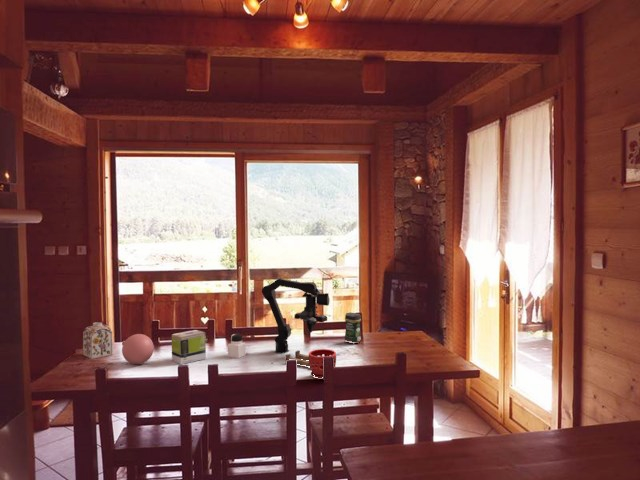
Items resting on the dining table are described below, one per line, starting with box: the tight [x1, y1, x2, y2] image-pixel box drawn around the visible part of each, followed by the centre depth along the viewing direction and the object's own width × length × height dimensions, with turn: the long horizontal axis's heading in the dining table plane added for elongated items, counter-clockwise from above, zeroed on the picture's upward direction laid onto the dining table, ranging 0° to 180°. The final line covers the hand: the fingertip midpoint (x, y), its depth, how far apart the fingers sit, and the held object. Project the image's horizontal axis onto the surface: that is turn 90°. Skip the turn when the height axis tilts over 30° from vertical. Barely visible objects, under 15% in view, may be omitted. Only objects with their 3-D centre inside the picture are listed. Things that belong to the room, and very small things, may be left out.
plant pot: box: [308, 348, 337, 378], centre depth 229 cm, size 13×13×12 cm
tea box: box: [171, 329, 207, 365], centre depth 257 cm, size 15×10×15 cm, turn 134°
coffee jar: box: [344, 312, 362, 342], centre depth 296 cm, size 10×8×19 cm
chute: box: [285, 350, 325, 366], centre depth 251 cm, size 18×11×4 cm, turn 58°
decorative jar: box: [82, 322, 114, 360], centre depth 265 cm, size 12×12×18 cm
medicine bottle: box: [227, 333, 247, 359], centre depth 265 cm, size 7×7×12 cm
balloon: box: [121, 333, 155, 365], centre depth 251 cm, size 15×20×15 cm
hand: (310, 332), depth 271 cm, fingers closed
